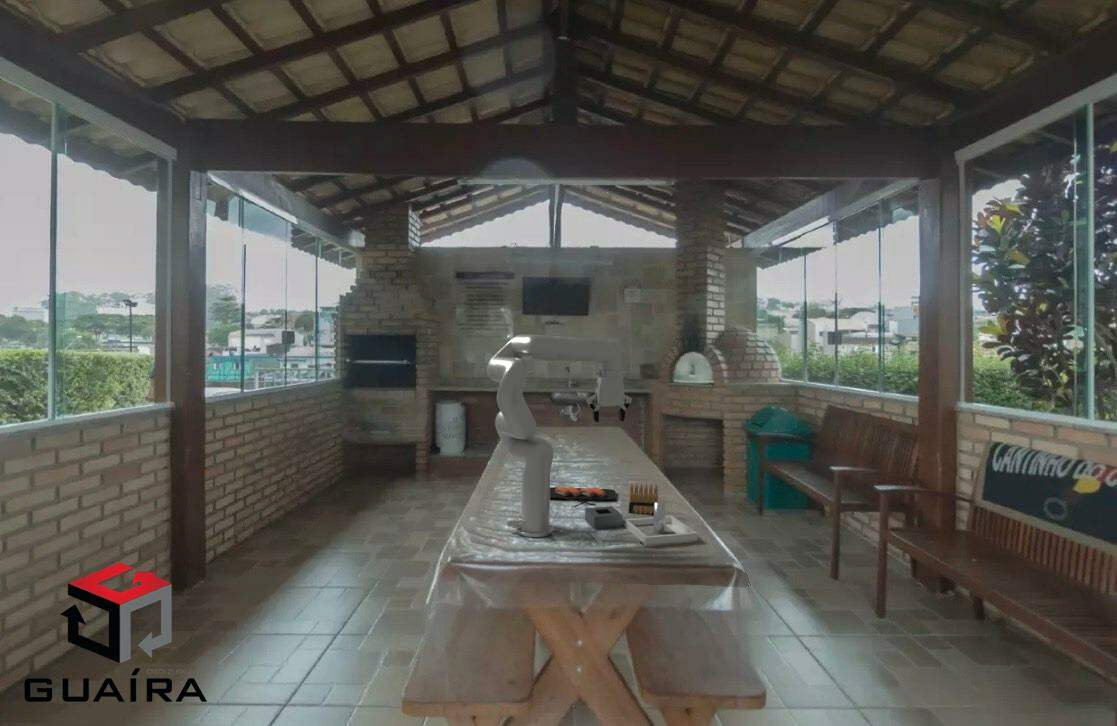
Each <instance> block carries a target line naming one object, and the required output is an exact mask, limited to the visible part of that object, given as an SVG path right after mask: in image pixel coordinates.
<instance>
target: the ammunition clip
mask: <svg viewBox="0 0 1117 726" xmlns="http://www.w3.org/2000/svg"><path fill="white" fill-rule="evenodd" d="M634 485H635V486H633V483H632V482H631V483H630V485H629V493H628V514H639V515H640V514H641V515H651V516H652V517H653V516H654V502H656V501H659V496H658V495H659V494H658V491H659V490H658V486H657V484H654V487H653V485H652V483H650V485H649V488H648V484H647V483H645V484H644V487H643V484H642V483H640V485H639V487H638V483H635V484H634ZM653 488H654V489H653ZM648 489H649V491H648Z"/></svg>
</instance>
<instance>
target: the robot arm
mask: <svg viewBox="0 0 1117 726" xmlns="http://www.w3.org/2000/svg"><path fill="white" fill-rule="evenodd" d="M621 349H622V347H621V342H620V341H618V340H607V339H606V340H605V339H589V338H580V337H574V336H564V335H563V336H561V335H544V334H525V333H523V334H522V333H521V334H518V335H515V336H514V337H513V338H511V339H510V340H508V342H507V343H506V344H505V345H504V346H502V348H501V349H500V350H498V352H496V353H495V354H494V355H493V356H492V357H491V358H490V360H489V361H488V363H487V365H486V373H487V376H488V378H489V379H491V380H492V382H493V381H494V382H496V383H499V386H498V389H497V393H496V403H497V406H498V408H499V412H497V414H496V417H495V421H494V425H495V430H496V432H497V434H498V436H499V439H500V440H501V442H502V443H503V445H504V447H505V449H506V451H507V453H508V454H509V455H510V457H511V458H512V459H513V460H515V461H518V462H521V463H524V465H525V466H524V469H523V471H522V475H521V504H520V505H521V509H520V510H521V513H520V514H521V515H520V516H519V517H518V518H516V520H513V519H512V520H507V521H506V527H507V528H508V527H512V528H511V529H516V533H517V534H519V535H520V536H523V537H527V538H543V537H544V538H545V537H547V536H551V535H552V533H553V532H554V531H555V526H554V525H553V524H551V523H550V521H551V498H550V487H551V470H552V469H551V468H552V465H553V459H554V449H553V446H552V444H551V442H550V441H548V440H546V439H545V438H543V437H539V436H535V435H536V433H537V428H538V427H537V423H536V420H535V418H534V416H533V414H532V412H531V410H530V408H529V406H528V404H527V401H526V400H525V397H524V394H523V393H524V391H523V389H524V386H525V383H526V380H527V378H528V373H529V372H528V371H529V370H528V369H529V368H528V365H527V364H526V361H537V362H538V361H540V362H541V361H542V362H565V363H566V362H567V363H570V362H591V363H592V362H597V363H598V362H599V369H598V371H597V370H596V372H595V376H598V378H597V380H596V386H595V393H594V394H593V395H591V396H588V397H587V398H586V399H585V400H586V402H587V404H588V406H589V408H590V409H591V410H592V412H593V413H592V419H593V421H594V422H595V423H599V422H600V418H599V417H600V412H599V409H600V408H601V407H619V410H618V420H619V421H620V422H624V421H625V419H626V410H627V409H628V408H629V407H630V404H631V403H632V400H633V398H632V397H630V396H628V395H627V394H625V385H624V379H623V378H622V377H621V358H622V357H621V352H622V350H621ZM524 360H526V361H524ZM593 400H594V403H595V404H593ZM625 400H626V402H625Z"/></svg>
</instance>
